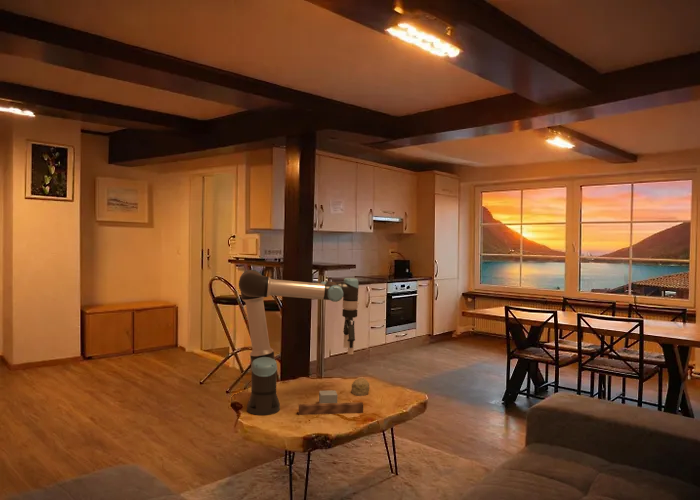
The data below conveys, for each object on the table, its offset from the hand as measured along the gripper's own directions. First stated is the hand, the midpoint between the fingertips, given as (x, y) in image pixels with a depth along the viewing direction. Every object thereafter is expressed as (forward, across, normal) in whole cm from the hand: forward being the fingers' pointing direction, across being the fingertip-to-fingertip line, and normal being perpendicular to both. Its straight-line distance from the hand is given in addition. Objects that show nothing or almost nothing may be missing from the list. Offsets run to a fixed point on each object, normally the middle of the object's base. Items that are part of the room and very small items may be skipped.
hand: (348, 350), depth 269 cm
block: (+24, -9, +10) cm, 28 cm away
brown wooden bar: (+24, -20, +10) cm, 33 cm away
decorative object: (+24, +7, -9) cm, 27 cm away
